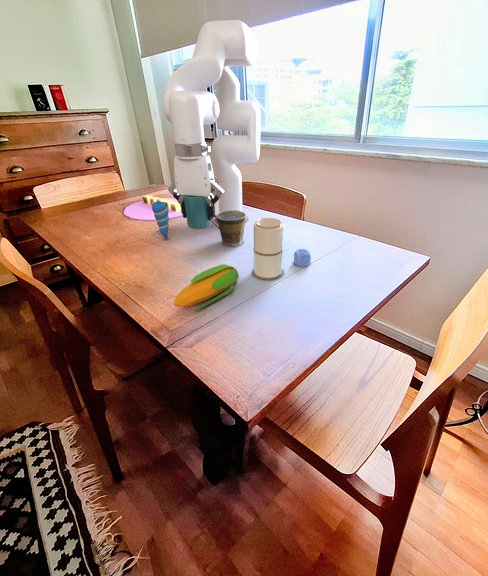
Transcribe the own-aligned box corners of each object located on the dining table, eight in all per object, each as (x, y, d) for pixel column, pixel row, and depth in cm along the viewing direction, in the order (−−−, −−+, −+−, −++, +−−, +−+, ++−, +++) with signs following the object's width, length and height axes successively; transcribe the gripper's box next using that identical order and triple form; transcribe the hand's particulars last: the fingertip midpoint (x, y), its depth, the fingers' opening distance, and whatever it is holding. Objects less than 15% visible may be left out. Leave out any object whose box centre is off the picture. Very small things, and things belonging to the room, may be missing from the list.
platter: (164, 194, 156) (162, 188, 154) (209, 205, 141) (208, 198, 139) (108, 211, 134) (106, 203, 132) (155, 225, 119) (153, 217, 117)
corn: (245, 262, 76) (181, 295, 63) (247, 287, 80) (187, 324, 67) (225, 255, 80) (161, 285, 68) (228, 280, 84) (168, 312, 71)
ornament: (169, 242, 105) (161, 200, 97) (155, 241, 106) (147, 199, 98) (175, 237, 109) (168, 196, 101) (162, 236, 110) (154, 195, 102)
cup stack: (257, 264, 91) (257, 215, 83) (283, 267, 89) (286, 218, 81) (250, 277, 84) (249, 226, 76) (278, 281, 83) (281, 229, 74)
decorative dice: (305, 259, 93) (306, 248, 91) (309, 265, 90) (311, 254, 88) (293, 260, 93) (294, 249, 91) (297, 267, 90) (298, 255, 87)
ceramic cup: (250, 239, 107) (250, 211, 102) (240, 250, 99) (239, 221, 94) (217, 234, 111) (215, 208, 105) (205, 245, 103) (202, 217, 98)
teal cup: (193, 219, 90) (189, 189, 85) (214, 221, 89) (212, 191, 84) (183, 228, 85) (178, 196, 80) (206, 230, 83) (202, 198, 78)
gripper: (227, 149, 77) (231, 215, 87) (166, 147, 80) (177, 210, 90) (217, 154, 71) (223, 225, 81) (152, 151, 74) (165, 219, 84)
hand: (198, 217), depth 85 cm, fingers closed on teal cup, 7 cm apart
